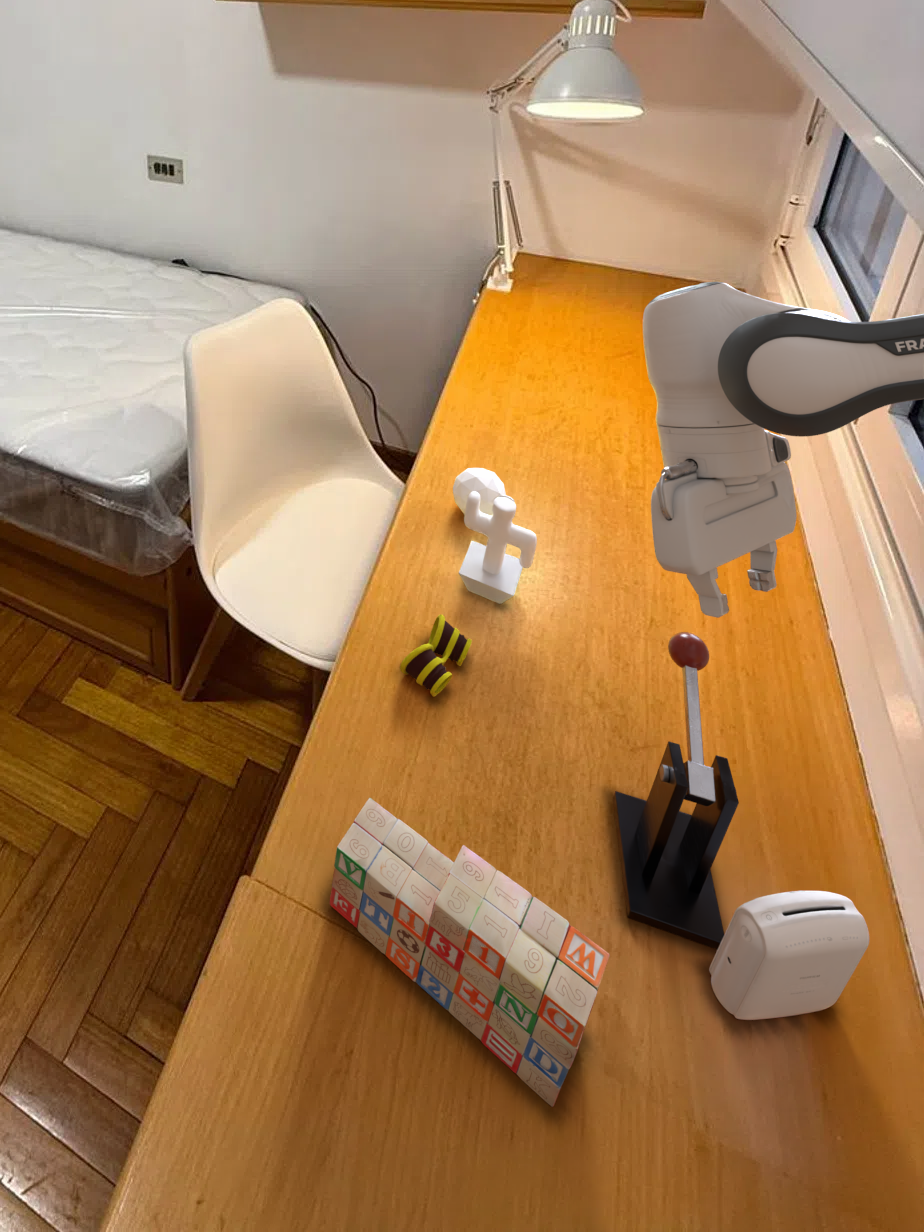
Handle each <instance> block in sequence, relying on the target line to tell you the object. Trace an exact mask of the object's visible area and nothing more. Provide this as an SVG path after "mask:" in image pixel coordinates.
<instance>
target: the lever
mask: <svg viewBox="0 0 924 1232" xmlns="http://www.w3.org/2000/svg"><path fill="white" fill-rule="evenodd" d="M667 650H668V654H669V656H670V658H671V660H672V661H673V662H674V664H675V665H677V666H678V667H679V668H681V669H682V671H681V672H682V684H683V686H682V687H683V701H684V717H685V733H686V734H685V735H686V749H687V760H686V761H685V762H683V763H684V768H685V773H686V778H687V782H688V790H687V792H686V795H685V798H684V800H685V801H689V802H691V803H695V804H696V803H697V804H701V805H704V806H709V805H711V804H713V803H715V802H716V794H715V781H714V769H713V768H711V766H707V765H705V758H704V744H703V731H702V718H701V716H702V715H701V703H700V689H699V674H698V671H701V670H703V669H704V668H706V667H707V665H708V664H709V661H710V652H709V651H710V650H709V648H708V646H707V644H706V643H705V642H704V640H703V639H702V638H701V637H700V636H697V635H696V634H694V633H692V632H688V631H681V632H680V631H679V632H677V633H675V634H673V635H672V636H671V637H670V639H669V641H668V644H667Z"/></svg>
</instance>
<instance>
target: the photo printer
mask: <svg viewBox="0 0 924 1232" xmlns="http://www.w3.org/2000/svg"><path fill="white" fill-rule="evenodd" d="M869 945H870V932H869V928H868V925H867V922H866V919H865V917H864V916H863V914H861V912H860V911H859V910H858V909H857V908H856V906H855V904H854V902H853V901H852V900H851V899H850V898H848V897H847V896H845V895H843V894H839V893H837V892H831V891H824V890H791V891H785V892H777V893H773V894H767V895H763V896H760V897H756V898H754V899H751V900H749V901H746V902H744V903H743V904H741V905H740V906H738V907H736V909H735V910H734V912H733V915H732V917H731V920H730V921H729V924H728V926H727V928H726V930H725V931H724V937H723V939H722V941H721V943H720V946H719V948H718V950H716V953H715V954H714V957H713V959H712V961H711V963H710V965H709V968H708V971H709V973H710V975H711V977H710V985H711V988H712V991H713V993H714V995H715V998H716V999H717V1000H718V1002H719V1003H720V1004H721V1006H722V1007H723V1008H724V1009H725V1010H726V1011H727V1012H728V1013H729V1014H731V1015H733V1016H734V1018H735V1019H738V1020H742V1021H743V1020H745V1021H752V1020H753V1021H756V1020H766V1019H775V1018H776V1019H777V1018H783V1017H784V1018H785V1017H792V1016H798V1015H804V1014H810V1013H814V1012H820V1011H823V1010H826V1009H828V1008H830V1007H832V1006H833V1005H835V1004H836V1002H837V1001H838V1000H839V998H840V996H841V995H842V993H843V992H844V989H845V987H847V985H848V983H849V981H850V979H851V977H852V975H853V974H854V972H855V971H856V969H857V967H858V965H859V964H860V962H861V960H862V958H863V957H864V954H865V953H866V951H867V949H868V947H869Z"/></svg>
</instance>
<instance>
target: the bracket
mask: <svg viewBox="0 0 924 1232" xmlns="http://www.w3.org/2000/svg"><path fill="white" fill-rule="evenodd" d="M683 759H684V758H683V753H682V750H681V745H680V744H679V743H678V742H677V743H676V742H673V741H668V742H667V744H666V746H665V750H664V752H663V754H662V758H661V761H660V763H659V766H658V768H657V772H656V774H655V777H654V780H653V783H652V785H651V788H650V791H649V794H648V797H647V799H646V800H645V799H642V798H638V797H636V796H633V795H630V794H626V793H623V792H620V791H617V790H614V793H613V795H612V802H613V803H612V804H613V811H614V818H615V827H616V835H617V843H618V851H619V858H620V867H621V876H622V882H623V883H622V884H623V892H624V893H623V894H624V900H625V907H626V916H627V918H628V919H629V920H633V921H634V922H635V921H636V922H639V923H641V924H644V925H646V926H649V927H652V928H655V929H658V930H660V931H664V932H666V933H670V934H672V935H674V936H677V937H680V938H683V939H686V940H688V941H691V942H695V943H696V944H701V945H703V946H705V947H708V948H711V949H714V950H716V951H717V950H718V948H719V946H720V943H721V941H722V939H723V937H724V935H725V931H724V927H723V923H722V917H721V912H720V906H719V902H718V898H717V894H716V890H715V889H716V888H715V884H714V879H713V875H712V874H713V873H712V870H711V869H712V866H713V864H714V861H715V859H716V857H717V855H718V853H719V850H720V848H721V846H722V843H723V841H724V838H725V836H726V834H727V832H728V829H729V827H730V824H731V822H732V820H733V817H734V816H735V813H736V811H737V808H738V806H739V804H740V801H739V798H738V797H739V796H738V794H737V789H736V786H735V782H734V778H733V775H732V771H731V767H730V763H729V759H728V758H727V757H724V756H721V755H717V754H715V756H714V758H713V761H712V764H711V766H710V767H711V768H713V769H714V781H715V794H716V802H715V803H713V804H711V805H709V806H704V805H701V804H697V803H695V805H694V808H693V811H692V813H691V814H689V813H686V812H683V811H681V808H682V805H683V802H684V800H685V799H684V798H685V795H686V792H687V790H688V782H687V778H686V773H685V768H684V763H685V762H684V760H683Z"/></svg>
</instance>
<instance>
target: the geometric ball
mask: <svg viewBox="0 0 924 1232" xmlns="http://www.w3.org/2000/svg"><path fill="white" fill-rule="evenodd" d="M473 491H475V492H478V493H479V494H480V497H481V499H480V505H479V510H480V511H481V512H482V513H485V514H487V515H493V511H492V508H493V503H494V500H495V498H497V497H499V496H500V495H507V494H506V489H505V484H504V482H503V481H502V480H501V478H500V477H499V476H498V475H497V474H496V472H495V471H492V470H488V469H487V468H483V467H467V468H466V469H464V470H463V471H462V472H460V473H459V474H458V475H457V476H456V477H455V479H454V483H453V486H452V494H453V495H452V496H453V500H454V503H455V505H456V506H457V507H458V508H459V510H460V511H461V512H462V513H463V516H464V515H465V509H466V504H467V499H468V496H469V494H470V493H471V492H473Z"/></svg>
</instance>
